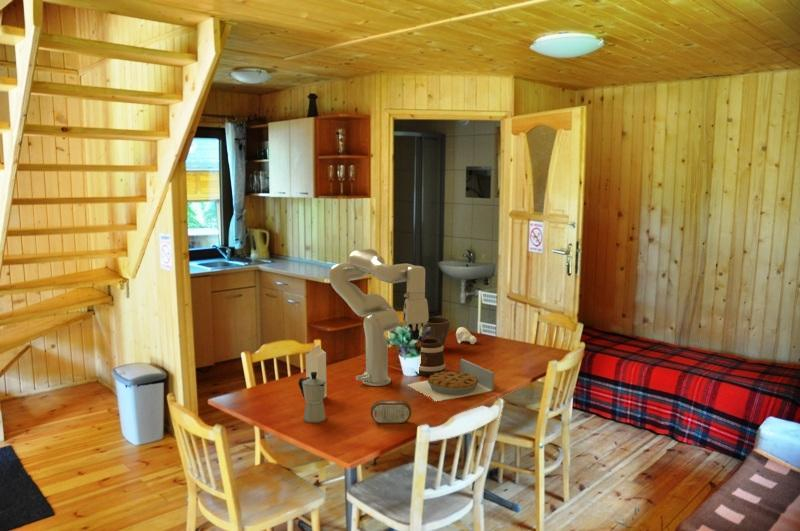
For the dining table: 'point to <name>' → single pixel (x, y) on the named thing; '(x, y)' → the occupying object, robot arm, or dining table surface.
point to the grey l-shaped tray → (482, 374)
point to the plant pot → (438, 328)
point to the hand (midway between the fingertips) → (415, 338)
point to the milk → (316, 364)
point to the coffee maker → (313, 398)
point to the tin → (390, 411)
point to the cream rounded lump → (464, 335)
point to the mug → (431, 357)
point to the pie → (453, 383)
